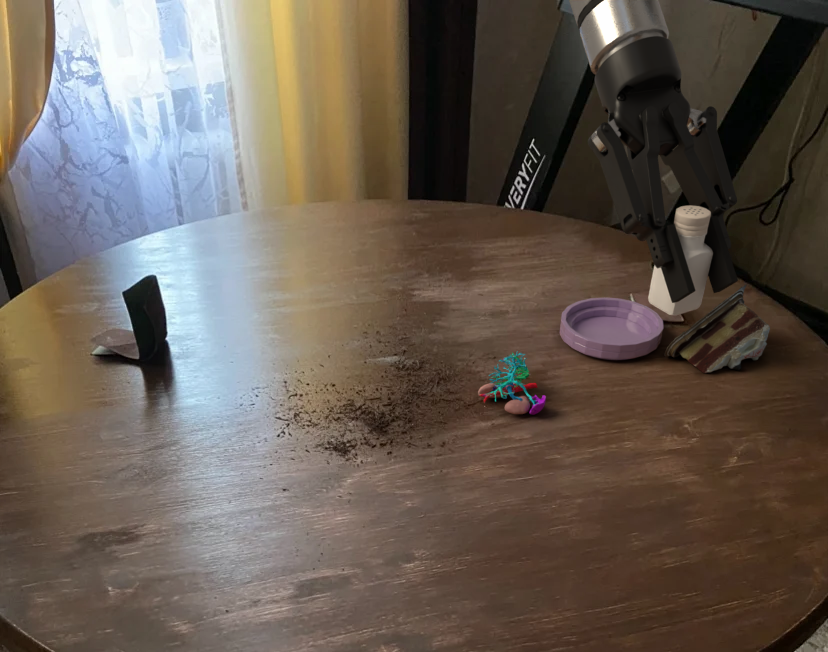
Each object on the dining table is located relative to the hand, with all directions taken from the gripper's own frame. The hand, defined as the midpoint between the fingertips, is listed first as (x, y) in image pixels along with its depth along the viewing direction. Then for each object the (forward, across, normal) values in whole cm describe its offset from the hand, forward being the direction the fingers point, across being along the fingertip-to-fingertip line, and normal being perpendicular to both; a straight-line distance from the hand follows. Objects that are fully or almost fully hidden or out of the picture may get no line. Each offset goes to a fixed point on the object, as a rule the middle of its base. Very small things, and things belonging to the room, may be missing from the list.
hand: (704, 291), depth 79 cm
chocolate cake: (+4, -14, -17) cm, 23 cm away
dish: (-3, -5, -24) cm, 25 cm away
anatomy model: (+3, +14, -19) cm, 24 cm away
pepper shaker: (0, 0, -5) cm, 5 cm away
